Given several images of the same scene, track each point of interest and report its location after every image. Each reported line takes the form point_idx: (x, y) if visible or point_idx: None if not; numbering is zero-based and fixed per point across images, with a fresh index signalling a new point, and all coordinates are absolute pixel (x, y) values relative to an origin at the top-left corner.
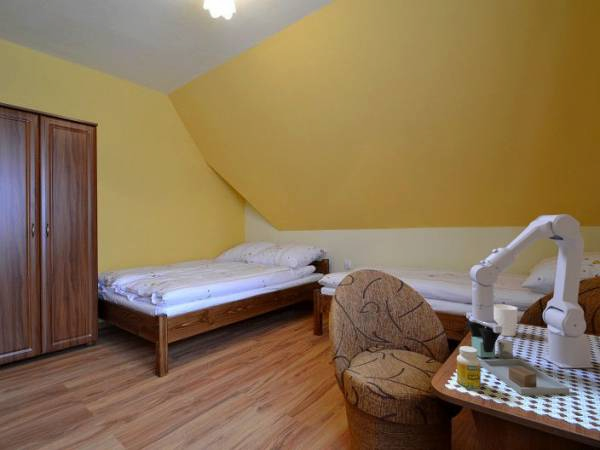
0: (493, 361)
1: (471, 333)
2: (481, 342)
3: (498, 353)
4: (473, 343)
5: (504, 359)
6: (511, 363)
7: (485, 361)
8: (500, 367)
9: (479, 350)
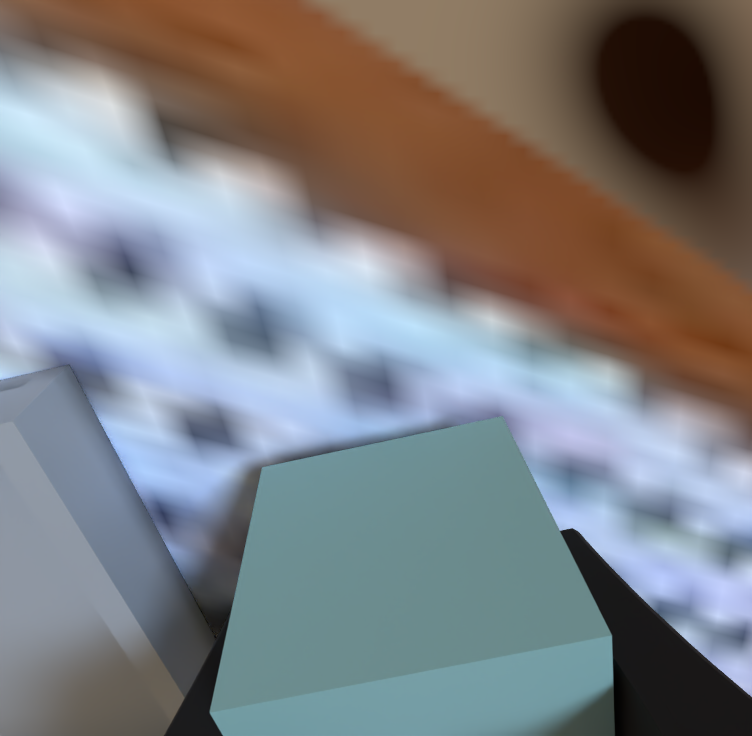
0: (92, 577)
1: (747, 714)
2: (216, 724)
3: None
4: (488, 538)
5: (180, 698)
6: None
7: (29, 484)
8: (71, 584)
9: (275, 533)
